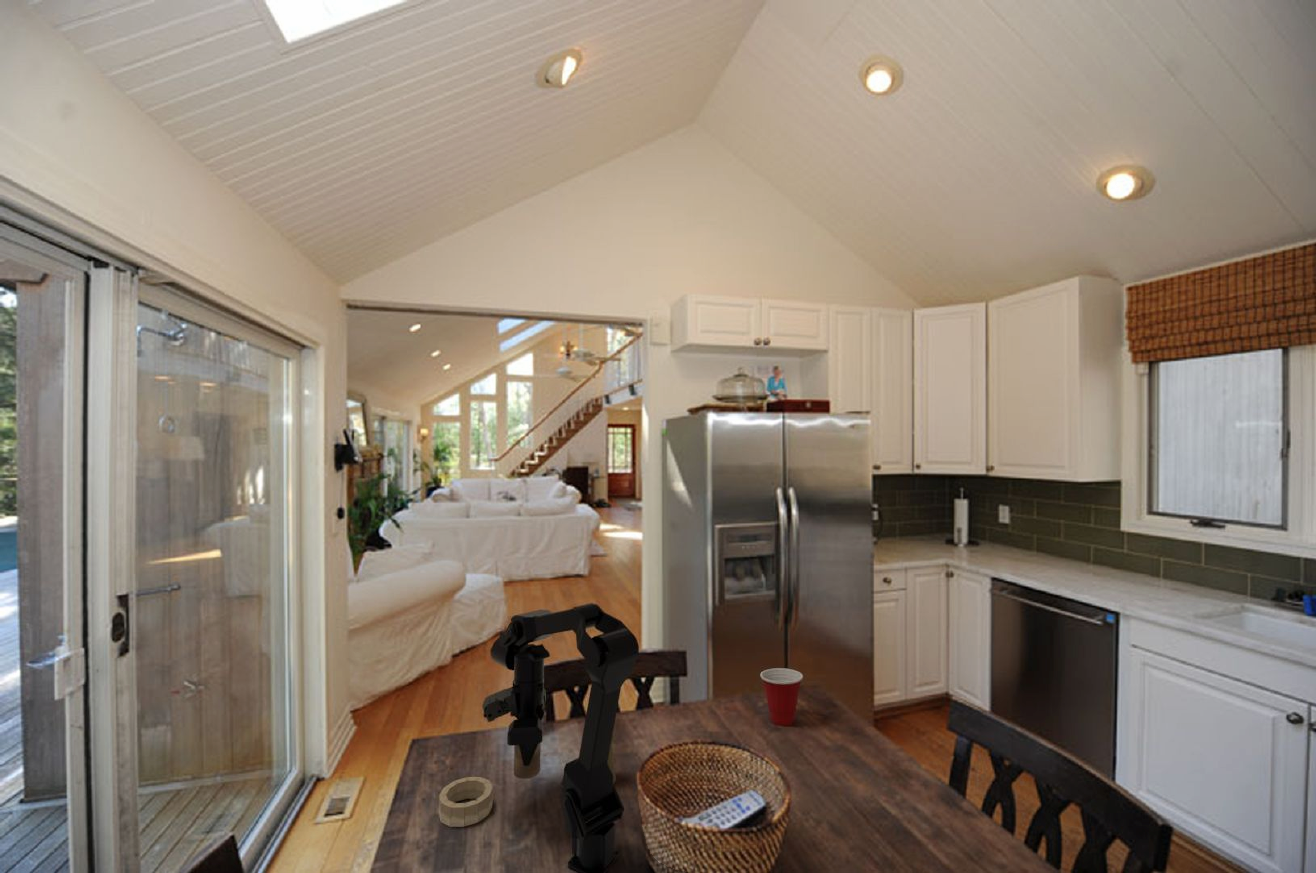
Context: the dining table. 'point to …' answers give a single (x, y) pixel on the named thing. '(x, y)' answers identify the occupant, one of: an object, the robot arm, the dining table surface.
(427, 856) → the dining table surface
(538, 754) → the walnut peg
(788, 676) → the plastic cup
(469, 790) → the wooden ring
